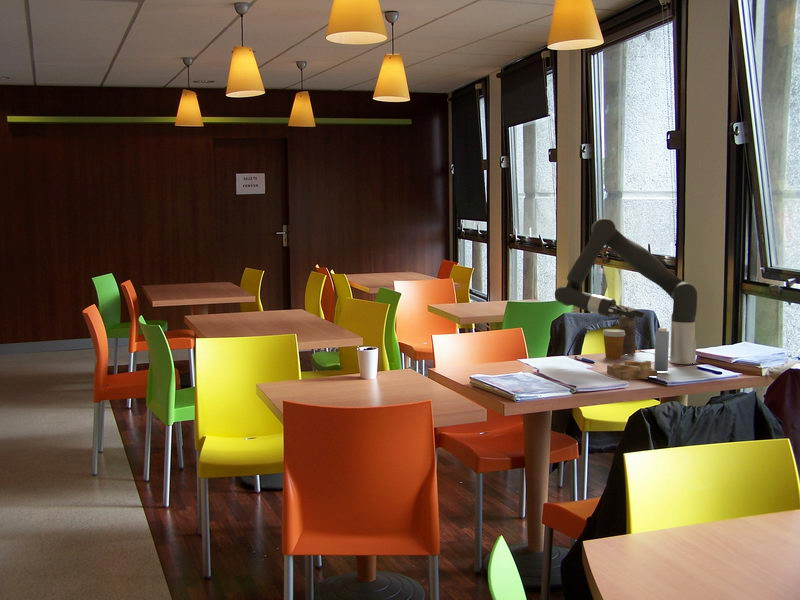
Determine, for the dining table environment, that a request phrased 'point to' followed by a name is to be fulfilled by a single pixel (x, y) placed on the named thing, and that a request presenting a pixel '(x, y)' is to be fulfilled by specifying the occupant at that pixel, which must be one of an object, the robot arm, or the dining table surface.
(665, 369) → the flask
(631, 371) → the display stand
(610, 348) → the disposable coffee cup
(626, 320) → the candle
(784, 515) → the dining table surface
